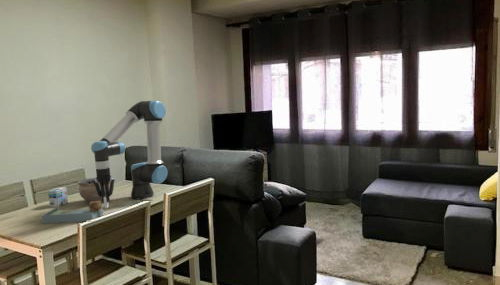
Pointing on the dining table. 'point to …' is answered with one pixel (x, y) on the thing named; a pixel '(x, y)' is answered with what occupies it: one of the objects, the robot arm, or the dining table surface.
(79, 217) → the box
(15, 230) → the dining table surface
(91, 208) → the walnut block
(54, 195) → the white toy van
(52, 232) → the dining table surface
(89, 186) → the ceramic bowl
